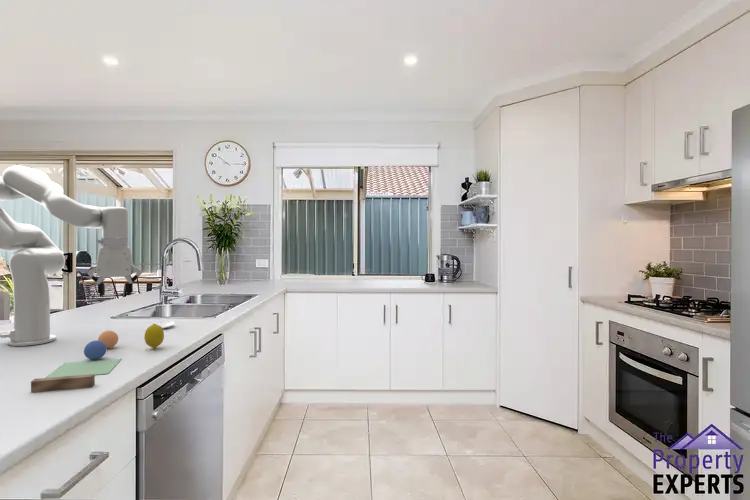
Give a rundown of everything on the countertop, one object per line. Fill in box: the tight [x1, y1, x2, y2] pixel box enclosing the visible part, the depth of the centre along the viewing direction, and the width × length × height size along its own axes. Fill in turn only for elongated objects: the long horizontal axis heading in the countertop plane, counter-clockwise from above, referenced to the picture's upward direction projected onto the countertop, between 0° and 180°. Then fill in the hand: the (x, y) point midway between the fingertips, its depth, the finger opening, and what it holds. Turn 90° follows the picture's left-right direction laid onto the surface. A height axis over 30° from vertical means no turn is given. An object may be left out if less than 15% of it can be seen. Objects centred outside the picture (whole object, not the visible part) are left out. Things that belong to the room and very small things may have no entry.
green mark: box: [44, 358, 122, 378], centre depth 116 cm, size 14×14×1 cm
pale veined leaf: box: [155, 318, 175, 330], centre depth 170 cm, size 8×12×2 cm, turn 22°
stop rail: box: [30, 374, 96, 393], centre depth 100 cm, size 12×2×2 cm, turn 109°
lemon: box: [144, 323, 165, 349], centre depth 137 cm, size 6×6×8 cm
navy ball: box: [83, 340, 108, 361], centre depth 124 cm, size 6×6×6 cm
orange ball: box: [97, 330, 119, 349], centre depth 137 cm, size 6×6×6 cm
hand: (115, 294), depth 146 cm, fingers open, 7 cm apart
